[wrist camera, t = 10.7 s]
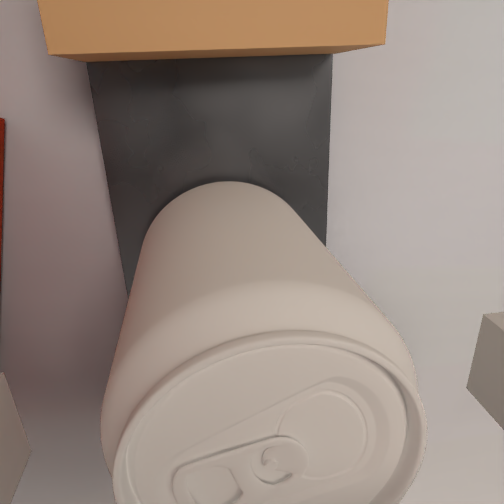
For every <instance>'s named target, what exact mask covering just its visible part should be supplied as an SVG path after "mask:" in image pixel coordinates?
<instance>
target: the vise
mask: <svg viewBox="0 0 504 504" xmlns="http://www.w3.org/2000/svg"><path fill="white" fill-rule="evenodd" d="M332 60H333V54H308V55H278V56H248V57H218V58H188V59H158V60H128V61H98V62H86V63H87V69H88V74H89V80H90V85H91V91H92V97H93V102H94V108H95V114H96V119H97V125H98V131H99V136H100V142H101V147H102V153H103V159H104V164H105V170H106V176H107V181H108V187H109V193H110V198H111V204H112V209H113V215H114V221H115V226H116V232H117V238H118V243H119V249H120V255H121V260H122V266H123V271H124V277H125V283H126V288H127V294H128V300H129V296H130V292H131V288H132V284H133V280H134V276H135V272H136V268H137V264H138V260H139V256H140V252H141V248H142V244H143V241H144V238H145V235H146V233H147V231H148V229H149V227H150V225H151V224H152V222H153V220H154V219H155V218H156V216H157V215H158V214H159V213H160V211H161V210H162V209H163V208H164V207H165V206H166V205H167V204H169V203H170V202H171V201H172V200H174V199H175V198H176V197H178V196H179V195H181V194H183V193H185V192H187V191H189V190H191V189H193V188H196V187H198V186H201V185H205V184H209V183H214V182H223V181H235V182H244V183H249V184H253V185H256V186H259V187H262V188H264V189H267V190H269V191H271V192H272V193H274V194H276V195H277V196H279V197H280V198H281V199H283V200H284V201H285V202H286V203H287V204H288V205H289V206H290V207H291V208H292V209H293V210H294V211H295V212H296V213H297V214H298V216H299V217H300V218H301V219H302V220H303V221H304V223H305V224H306V225H307V226H308V227H309V228H310V230H311V231H312V232H313V233H314V234H315V235H316V236H317V238H318V239H319V240H320V241H321V242H322V243H323V245H324V246H325V247H326V227H327V199H328V171H329V143H330V115H331V87H332Z"/></svg>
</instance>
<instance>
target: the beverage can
mask: <svg viewBox="0 0 504 504" xmlns="http://www.w3.org/2000/svg"><path fill="white" fill-rule="evenodd" d="M100 435H101V444H102V450H103V454H104V458H105V461H106V464H107V467H108V470H109V472H110V474H111V477H112V484H113V492H114V497H115V501H116V504H398V503H399V502H400V500H401V499H402V498H403V497H404V495H405V494H406V492H407V491H408V489H409V488H410V486H411V485H412V483H413V481H414V479H415V477H416V475H417V473H418V471H419V469H420V466H421V464H422V461H423V457H424V454H425V449H426V443H427V421H426V415H425V411H424V407H423V404H422V401H421V399H420V397H419V395H418V383H417V376H416V372H415V368H414V364H413V361H412V358H411V355H410V353H409V351H408V348H407V346H406V345H405V343H404V341H403V339H402V337H401V336H400V334H399V333H398V331H397V330H396V329H395V327H394V326H393V325H392V324H391V322H390V321H389V320H388V319H387V318H386V317H385V315H384V314H383V313H382V312H381V311H380V310H379V308H378V307H377V306H376V305H375V304H374V303H373V301H372V300H371V299H370V298H369V297H368V296H367V294H366V293H365V292H364V291H363V290H362V289H361V288H360V286H359V285H358V284H357V283H356V282H355V281H354V279H353V278H352V277H351V276H350V275H349V274H348V272H347V271H346V270H345V269H344V268H343V267H342V265H341V264H340V263H339V262H338V261H337V260H336V259H335V257H334V256H333V255H332V254H331V253H330V252H329V250H328V249H327V248H326V247H325V246H324V245H323V243H322V242H321V241H320V240H319V239H318V238H317V236H316V235H315V234H314V233H313V232H312V231H311V230H310V228H309V227H308V226H307V225H306V224H305V223H304V221H303V220H302V219H301V218H300V217H299V216H298V214H297V213H296V212H295V211H294V210H293V209H292V208H291V207H290V206H289V205H288V204H287V203H286V202H285V201H284V200H283V199H281V198H280V197H279V196H277V195H276V194H274V193H272V192H271V191H269V190H267V189H264V188H262V187H259V186H256V185H253V184H249V183H244V182H235V181H223V182H214V183H209V184H205V185H201V186H198V187H196V188H193V189H191V190H189V191H187V192H185V193H183V194H181V195H179V196H178V197H176V198H175V199H174V200H172V201H171V202H170V203H169V204H167V205H166V206H165V207H164V208H163V209H162V210H161V211H160V213H159V214H158V215H157V216H156V218H155V219H154V220H153V222H152V224H151V225H150V227H149V229H148V231H147V233H146V235H145V238H144V241H143V244H142V248H141V252H140V256H139V260H138V264H137V268H136V272H135V276H134V280H133V284H132V288H131V292H130V296H129V300H128V304H127V307H126V311H125V315H124V319H123V323H122V327H121V331H120V335H119V339H118V343H117V347H116V351H115V355H114V359H113V363H112V367H111V371H110V375H109V379H108V383H107V387H106V391H105V395H104V399H103V404H102V409H101V418H100Z"/></svg>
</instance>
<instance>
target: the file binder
mask: <svg viewBox="0 0 504 504" xmlns="http://www.w3.org/2000/svg"><path fill="white" fill-rule="evenodd" d="M4 122H5V119H3V118H0V278H1V239H2V200H3V161H4Z"/></svg>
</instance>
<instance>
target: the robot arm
mask: <svg viewBox="0 0 504 504" xmlns="http://www.w3.org/2000/svg"><path fill="white" fill-rule="evenodd" d="M466 388H467V389H468V390H469V392H470V393H471V394H472V395H473V396H474V397H475V398H476V399H477V400H478V402H479V403H480V404H481V405H482V406H483V407H484V408H485V409H486V411H487V412H488V413H489V414H490V415H491V416H492V417H493V418H494V419H495V421H496V422H497V423H498V424H499V425H500V426H501V427H502V428H503V430H504V312H499V313H490V314H483V318H482V322H481V327H480V331H479V335H478V340H477V344H476V348H475V353H474V357H473V361H472V366H471V370H470V374H469V379H468V383H467V387H466ZM30 454H31V448H30V445H29V442H28V439H27V436H26V434H25V431H24V428H23V425H22V422H21V420H20V417H19V414H18V411H17V408H16V406H15V403H14V400H13V397H12V394H11V391H10V389H9V386H8V383H7V380H6V377H5V375H4V373H0V504H10V503H11V501H12V498H13V496H14V493H15V491H16V488H17V486H18V483H19V481H20V479H21V476H22V474H23V471H24V469H25V466H26V464H27V461H28V459H29V456H30Z"/></svg>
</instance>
